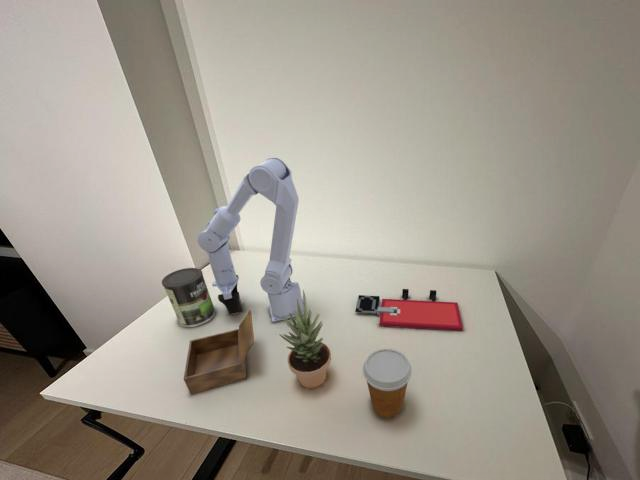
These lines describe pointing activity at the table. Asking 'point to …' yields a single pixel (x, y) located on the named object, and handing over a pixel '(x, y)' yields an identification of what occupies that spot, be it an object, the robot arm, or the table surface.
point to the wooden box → (214, 362)
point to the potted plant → (307, 349)
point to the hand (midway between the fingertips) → (234, 305)
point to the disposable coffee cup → (387, 380)
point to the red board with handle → (413, 312)
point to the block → (238, 306)
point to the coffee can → (189, 296)
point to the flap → (246, 335)
